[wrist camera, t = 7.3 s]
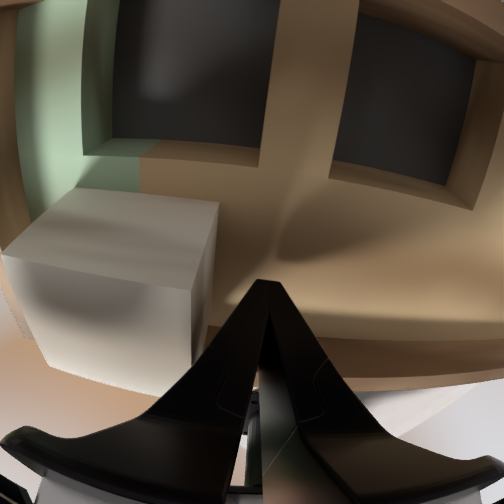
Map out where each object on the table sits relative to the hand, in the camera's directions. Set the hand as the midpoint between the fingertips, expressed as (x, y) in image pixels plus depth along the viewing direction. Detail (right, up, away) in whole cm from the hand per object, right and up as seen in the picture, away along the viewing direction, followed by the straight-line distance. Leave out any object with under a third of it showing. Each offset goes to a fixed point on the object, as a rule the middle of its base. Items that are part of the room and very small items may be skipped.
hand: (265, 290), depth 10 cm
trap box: (+3, +4, +1) cm, 5 cm away
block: (-4, +1, +1) cm, 4 cm away
